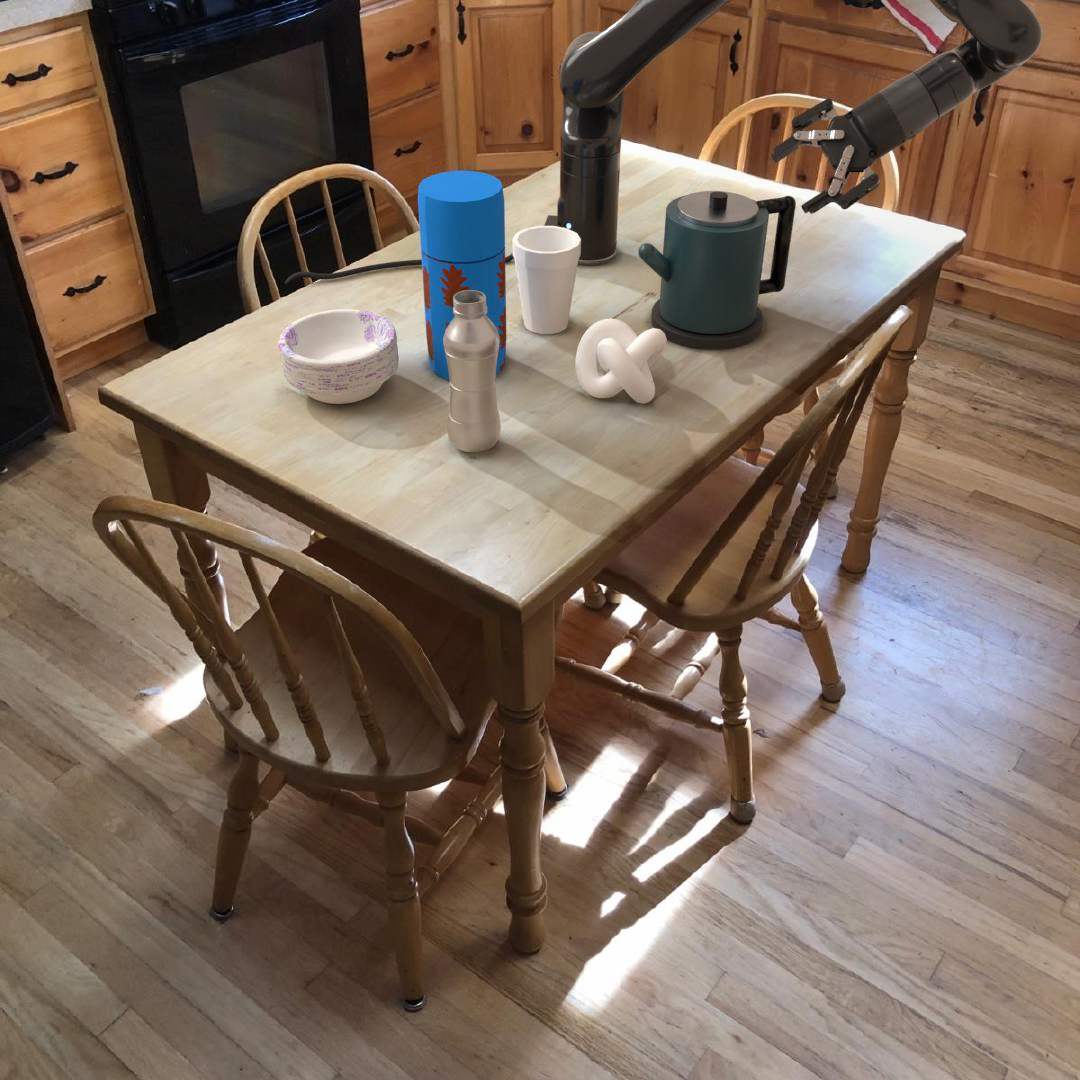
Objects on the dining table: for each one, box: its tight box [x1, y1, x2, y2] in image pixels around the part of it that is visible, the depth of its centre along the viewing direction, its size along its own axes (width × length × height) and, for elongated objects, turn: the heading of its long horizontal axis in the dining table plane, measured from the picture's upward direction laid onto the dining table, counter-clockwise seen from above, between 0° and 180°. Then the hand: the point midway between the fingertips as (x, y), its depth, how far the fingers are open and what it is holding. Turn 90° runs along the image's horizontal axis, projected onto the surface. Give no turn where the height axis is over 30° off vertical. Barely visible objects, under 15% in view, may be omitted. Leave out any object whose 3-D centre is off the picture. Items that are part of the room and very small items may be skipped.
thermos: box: [417, 170, 507, 381], centre depth 155 cm, size 11×11×25 cm
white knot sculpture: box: [575, 318, 668, 404], centre depth 153 cm, size 11×12×9 cm
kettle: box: [637, 190, 797, 334], centre depth 166 cm, size 24×14×17 cm, turn 110°
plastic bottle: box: [443, 290, 502, 453], centre depth 140 cm, size 6×7×20 cm
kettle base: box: [650, 298, 764, 350], centre depth 172 cm, size 16×16×2 cm
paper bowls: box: [277, 308, 400, 405], centre depth 155 cm, size 15×15×8 cm
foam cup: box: [511, 225, 581, 335], centre depth 168 cm, size 10×9×13 cm
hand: (787, 184), depth 164 cm, fingers open, 8 cm apart
